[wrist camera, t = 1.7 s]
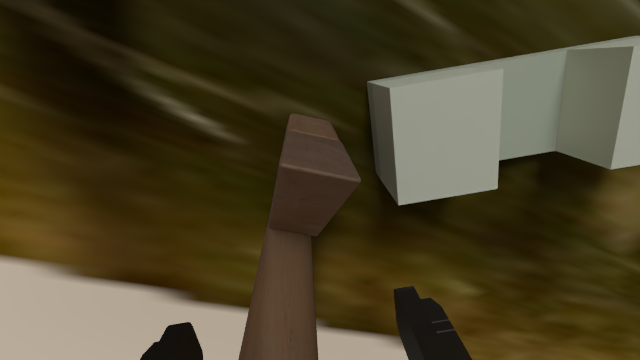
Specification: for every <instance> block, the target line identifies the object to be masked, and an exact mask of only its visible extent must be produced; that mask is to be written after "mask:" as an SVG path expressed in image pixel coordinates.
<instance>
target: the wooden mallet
mask: <svg viewBox="0 0 640 360" xmlns="http://www.w3.org/2000/svg"><path fill="white" fill-rule="evenodd" d="M360 181H361V179H360V177H359V175H358V173H357V171H356V169H355V167H354V165H353V163H352V161H351V159H350V157H349V155H348V154H347V152H346V150H345V148H344V146H343V144H342V142H340V140H339V138H338V136H337V134H336V132H335V130H334V128H333V126H332V124H331V123H330V122H329V121H326V120H322V119H317V118H313V117H308V116H304V115H299V114H295V113H294V114H291V115H290V116H289V120H288V124H287V129H286V133H285V138H284V144H283V148H282V153H281V157H280V162H279V167H278V172H277V178H276V184H275V189H274V195H273V200H272V206H271V211H270V217H269V222H268V225H267V228H266V233H265V237H264V242H263V247H262V252H261V256H260V261H259V266H258V270H257V275H256V280H255V285H254V289H253V294H252V299H251V303H250V308H249V313H248V318H247V322H246V327H245V332H244V337H243V342H242V346H241V351H240V355H239V360H318V348H317V331H316V313H315V296H314V278H313V261H312V244H311V236H318V235H319V234H320V232H321V231H322V230H323V229H324V227H325V226H326V225H327V224H328V222H329V221H330V220H331V219H332V217H333V216H334V215H335V214H336V212H337V211H338V210H339V209H340V207H341V206H342V205H343V204H344V202H345V201H346V200H347V199H348V197H349V196H350V195H351V194H352V192H353V191H354V190H355V189H356V187H357V186H358V185H359V184H360Z"/></svg>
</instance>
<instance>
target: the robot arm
mask: <svg viewBox="0 0 640 360" xmlns="http://www.w3.org/2000/svg"><path fill="white" fill-rule="evenodd" d="M394 299H395V310H396V320H397V326H398V330H399V334H400V337H401V340H402V343H403V345H404V348H405V351H406V353H407V356H408V359H409V360H472V359H471V357H470V355H469V353H468V352H467V350H466V348H465V346H464V345H463V343H462V341H461V340H460V338H459V336H458V334H457V333H456V331H455V330H454V327H453V326H452V324H451V322H450V321H449V319H448V317H447V315H446V314H445V312H444V310H443V308H442V307H441V306H440V305H439V304H437V303H436V302H435V301H434V300H433V299H431V298H426V299H420V298H419V296H418V294H417V292H416V290H415V288H414V287H413V286H410V287H404V288H398V289H394ZM140 360H203V353H202V349H201V347H200V344H199V341H198V339H197V336H196V334H195V331H194V329H193V326H192V324H191V323H189V322H186V323H180V324H175V325H169V326H168V327H167V328H166V330H165V332H164V334H163V335H162V337H161V339H160V341H159V342H154V343H153V345H152V346H151V347H150V348H149V349H148V350H147V351H146V352H145V353H144V354H143V355H142V357H141V359H140Z"/></svg>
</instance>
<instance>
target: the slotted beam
mask: <svg viewBox="0 0 640 360" xmlns="http://www.w3.org/2000/svg"><path fill="white" fill-rule="evenodd" d="M367 89H368V99H369V109H370V119H371V129H372V139H373V149H374V159H375V169H376V174H377V175H378V176H379V178H380V179H381V181H382V182H383V184H384V185H385V187H386V188H387V190H388V191H389V192H390V194H391V195H392V197H393V198H394V200H395V201H396V203H397V204H398V205H405V204H410V203H416V202H422V201H428V200H434V199H440V198H446V197H452V196H458V195H464V194H469V193H475V192H481V191H487V190H493V189H497V187H498V167H499V160H504V159H510V158H516V157H522V156H528V155H534V154H539V153H545V152H551V151H558V152H561V153H563V154H566V155H569V156H572V157H575V158H578V159H581V160H584V161H587V162H590V163H593V164H596V165H599V166H602V167H605V168H607V169H610V170H611V169H617V168H623V167H629V166H635V165H640V36H632V37H626V38H620V39H615V40H609V41H603V42H597V43H591V44H585V45H579V46H574V47H568V48H562V49H556V50H550V51H544V52H538V53H533V54H527V55H521V56H515V57H509V58H503V59H497V60H492V61H486V62H480V63H474V64H468V65H462V66H456V67H451V68H445V69H439V70H433V71H427V72H421V73H415V74H410V75H404V76H398V77H392V78H386V79H380V80H374V81H369V82H367Z"/></svg>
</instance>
